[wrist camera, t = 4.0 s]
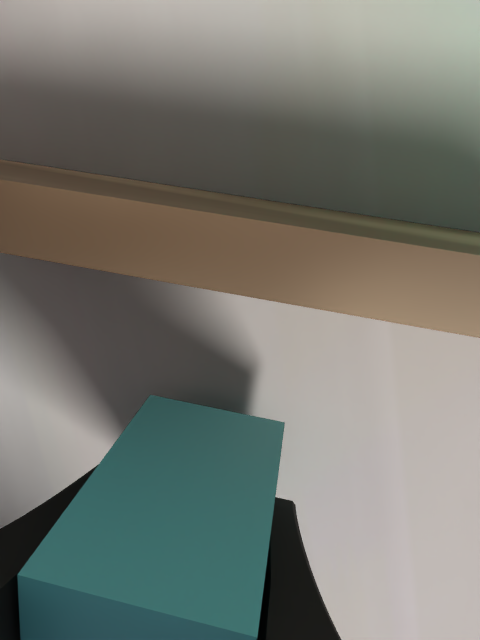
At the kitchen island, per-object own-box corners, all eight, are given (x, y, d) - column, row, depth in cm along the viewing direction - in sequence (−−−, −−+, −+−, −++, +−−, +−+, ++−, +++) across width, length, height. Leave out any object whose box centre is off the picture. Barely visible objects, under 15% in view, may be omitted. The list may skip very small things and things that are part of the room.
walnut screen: (578, 304, 13) (722, 380, 8) (-41, 201, 15) (-199, 217, 11) (600, 251, 13) (768, 300, 8) (-45, 152, 15) (-213, 146, 10)
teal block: (263, 531, 16) (225, 787, 9) (142, 502, 16) (24, 726, 10) (284, 422, 14) (257, 637, 8) (150, 394, 15) (17, 575, 8)
